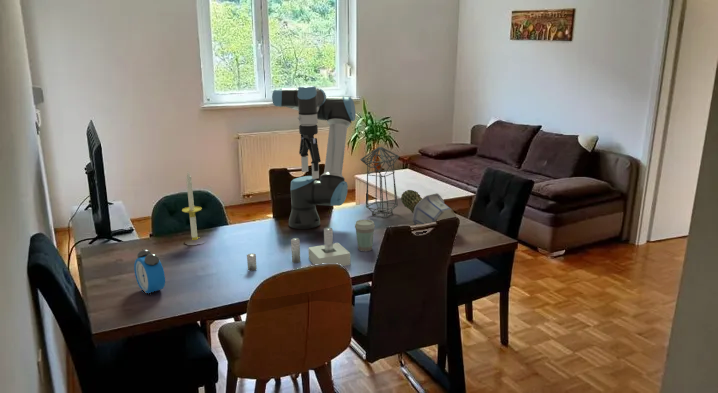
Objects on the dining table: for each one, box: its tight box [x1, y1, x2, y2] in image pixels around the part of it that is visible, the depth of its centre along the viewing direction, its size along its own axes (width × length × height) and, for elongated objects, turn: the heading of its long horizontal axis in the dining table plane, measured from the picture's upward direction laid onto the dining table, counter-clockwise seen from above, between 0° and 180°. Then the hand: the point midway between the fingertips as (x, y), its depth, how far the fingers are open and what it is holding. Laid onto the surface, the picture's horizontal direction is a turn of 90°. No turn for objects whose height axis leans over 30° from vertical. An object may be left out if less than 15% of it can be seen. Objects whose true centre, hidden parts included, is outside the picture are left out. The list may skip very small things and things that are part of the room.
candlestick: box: [181, 171, 203, 240], centre depth 247 cm, size 10×10×32 cm
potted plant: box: [400, 189, 457, 226], centre depth 264 cm, size 18×18×30 cm
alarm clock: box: [133, 248, 166, 294], centre depth 201 cm, size 13×6×15 cm, turn 43°
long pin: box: [323, 227, 334, 253], centre depth 225 cm, size 3×3×14 cm
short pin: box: [246, 253, 258, 272], centre depth 220 cm, size 3×3×6 cm
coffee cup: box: [354, 219, 376, 252], centre depth 239 cm, size 8×8×12 cm
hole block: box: [308, 242, 351, 267], centre depth 226 cm, size 13×13×5 cm
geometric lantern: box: [360, 146, 401, 219], centre depth 282 cm, size 16×16×35 cm
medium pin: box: [290, 237, 301, 264], centre depth 226 cm, size 3×3×10 cm
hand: (310, 175), depth 236 cm, fingers open, 13 cm apart
